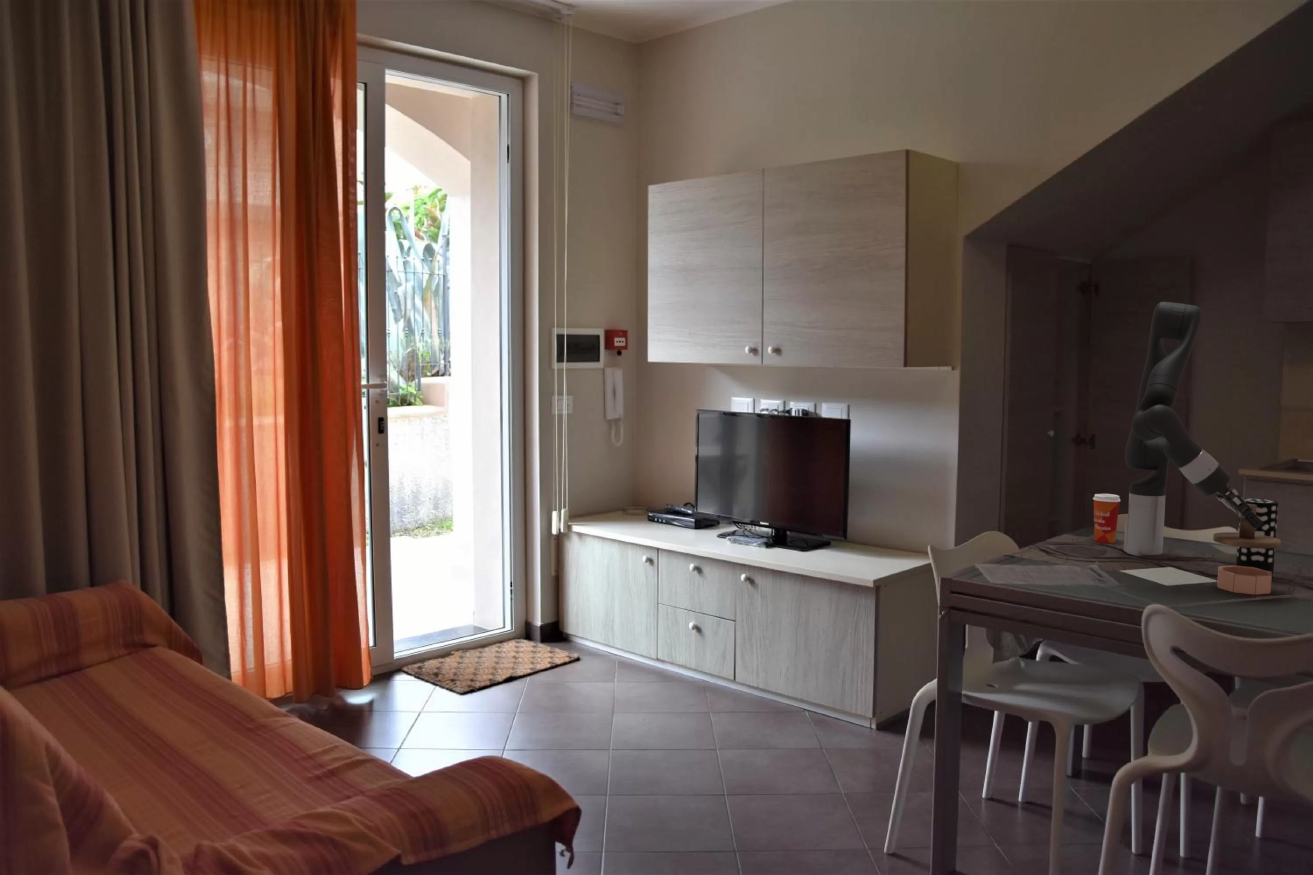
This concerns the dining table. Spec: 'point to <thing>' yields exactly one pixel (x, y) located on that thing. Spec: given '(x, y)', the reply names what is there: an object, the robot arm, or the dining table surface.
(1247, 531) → the walnut lid
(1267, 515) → the spotted tube
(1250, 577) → the terracotta bowl
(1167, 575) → the rubber mat
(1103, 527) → the paper cup
